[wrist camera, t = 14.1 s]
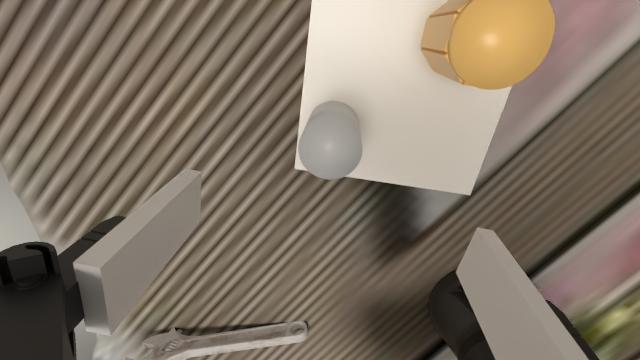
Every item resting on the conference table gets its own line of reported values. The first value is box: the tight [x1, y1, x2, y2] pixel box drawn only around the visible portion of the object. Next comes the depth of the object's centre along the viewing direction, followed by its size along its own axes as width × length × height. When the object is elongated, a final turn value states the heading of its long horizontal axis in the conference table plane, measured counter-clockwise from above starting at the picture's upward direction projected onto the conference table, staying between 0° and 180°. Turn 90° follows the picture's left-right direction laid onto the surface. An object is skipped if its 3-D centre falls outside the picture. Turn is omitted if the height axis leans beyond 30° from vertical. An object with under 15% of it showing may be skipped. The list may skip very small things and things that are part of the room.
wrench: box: [125, 321, 308, 360], centre depth 53 cm, size 8×2×30 cm
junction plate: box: [295, 0, 512, 195], centre depth 31 cm, size 22×22×10 cm
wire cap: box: [420, 0, 555, 90], centre depth 27 cm, size 7×7×10 cm
